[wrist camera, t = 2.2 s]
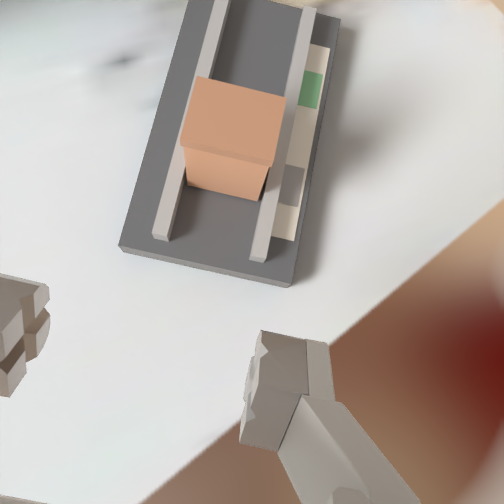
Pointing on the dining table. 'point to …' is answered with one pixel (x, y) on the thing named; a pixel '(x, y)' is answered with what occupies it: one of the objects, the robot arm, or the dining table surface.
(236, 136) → the switch tab
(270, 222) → the switch board
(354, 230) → the dining table surface
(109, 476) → the dining table surface
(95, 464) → the dining table surface
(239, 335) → the dining table surface
